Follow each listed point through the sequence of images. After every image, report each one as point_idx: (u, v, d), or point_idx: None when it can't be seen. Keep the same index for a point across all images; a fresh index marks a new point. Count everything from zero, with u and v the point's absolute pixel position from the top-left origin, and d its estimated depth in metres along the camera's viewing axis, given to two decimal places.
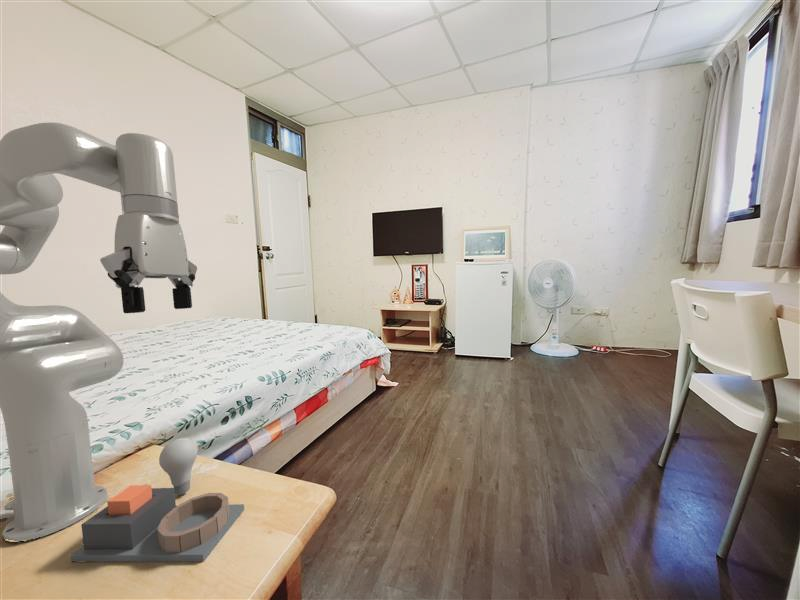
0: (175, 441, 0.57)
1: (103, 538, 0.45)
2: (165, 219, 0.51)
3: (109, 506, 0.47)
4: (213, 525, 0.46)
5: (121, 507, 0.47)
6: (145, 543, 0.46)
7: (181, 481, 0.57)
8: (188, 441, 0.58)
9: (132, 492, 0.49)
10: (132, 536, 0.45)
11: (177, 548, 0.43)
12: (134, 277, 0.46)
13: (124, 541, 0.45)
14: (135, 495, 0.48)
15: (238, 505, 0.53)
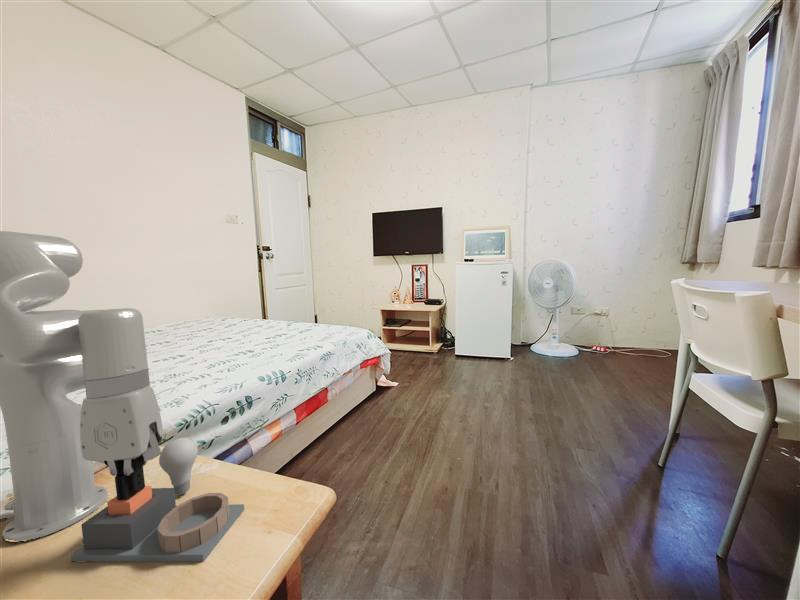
0: (175, 441, 0.57)
1: (103, 538, 0.45)
2: None
3: (109, 507, 0.47)
4: (213, 525, 0.46)
5: (121, 508, 0.47)
6: (145, 543, 0.46)
7: (181, 481, 0.57)
8: (188, 441, 0.58)
9: None
10: (132, 536, 0.45)
11: (177, 548, 0.43)
12: None
13: (124, 541, 0.45)
14: (135, 496, 0.48)
15: (238, 505, 0.53)
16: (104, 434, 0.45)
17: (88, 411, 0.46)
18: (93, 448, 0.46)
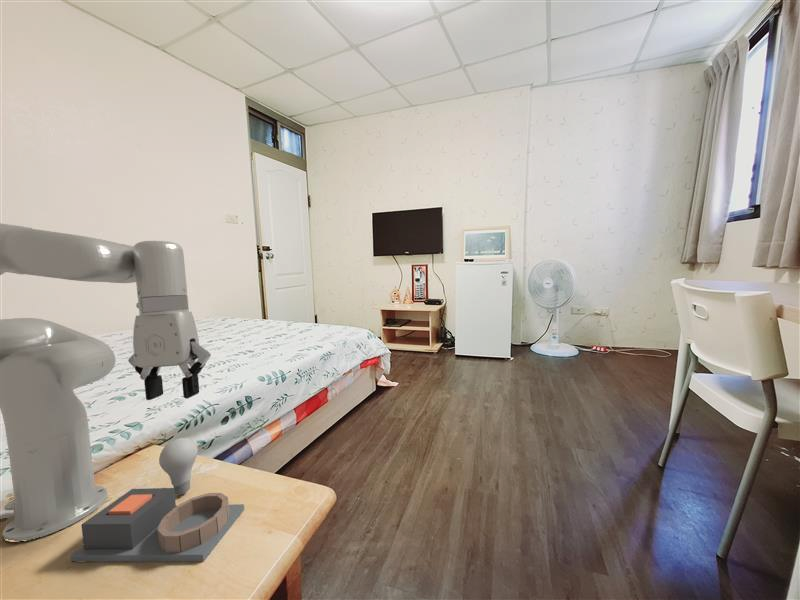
0: (175, 441, 0.57)
1: (103, 538, 0.45)
2: None
3: None
4: (213, 525, 0.46)
5: None
6: (145, 543, 0.46)
7: (181, 481, 0.57)
8: (188, 441, 0.58)
9: (133, 502, 0.49)
10: (132, 536, 0.45)
11: (177, 548, 0.43)
12: None
13: (124, 541, 0.45)
14: (136, 505, 0.48)
15: (238, 505, 0.53)
16: (154, 344, 0.54)
17: (140, 325, 0.55)
18: (144, 356, 0.55)
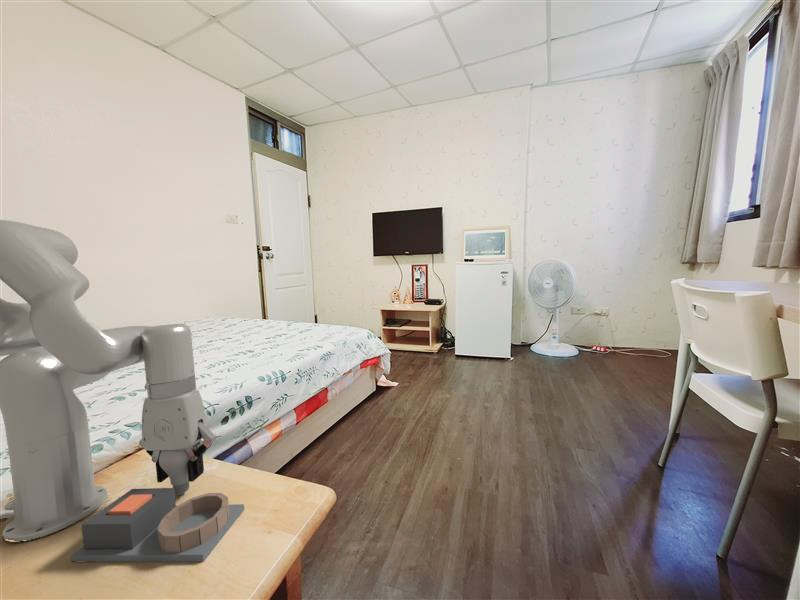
0: None
1: (103, 538, 0.45)
2: None
3: None
4: (213, 525, 0.46)
5: None
6: (145, 543, 0.46)
7: (180, 481, 0.57)
8: None
9: (133, 502, 0.49)
10: (132, 536, 0.45)
11: (177, 548, 0.43)
12: None
13: (124, 541, 0.45)
14: (136, 505, 0.48)
15: (238, 505, 0.53)
16: (162, 429, 0.55)
17: (149, 409, 0.55)
18: (152, 440, 0.55)
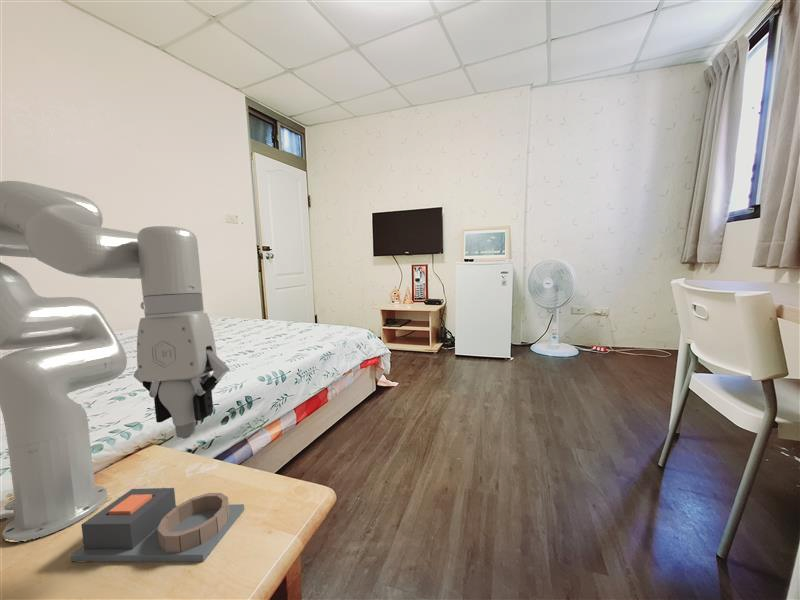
0: None
1: (103, 538, 0.45)
2: None
3: None
4: (213, 525, 0.46)
5: None
6: (145, 543, 0.46)
7: (185, 420, 0.46)
8: None
9: (133, 502, 0.49)
10: (132, 536, 0.45)
11: (177, 548, 0.43)
12: None
13: (124, 541, 0.45)
14: (136, 505, 0.48)
15: (238, 505, 0.53)
16: (162, 353, 0.44)
17: (146, 329, 0.45)
18: (150, 367, 0.45)
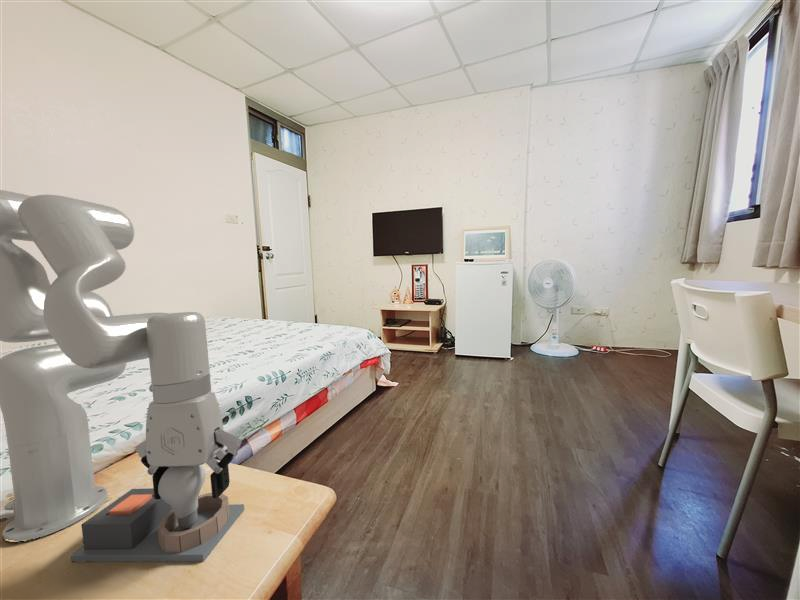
0: None
1: (103, 538, 0.45)
2: None
3: None
4: (213, 525, 0.46)
5: None
6: (145, 543, 0.46)
7: (186, 513, 0.47)
8: None
9: (133, 502, 0.49)
10: (132, 536, 0.45)
11: (177, 548, 0.43)
12: None
13: (124, 541, 0.45)
14: (136, 505, 0.48)
15: (238, 505, 0.53)
16: (171, 440, 0.45)
17: (154, 416, 0.45)
18: (159, 454, 0.45)
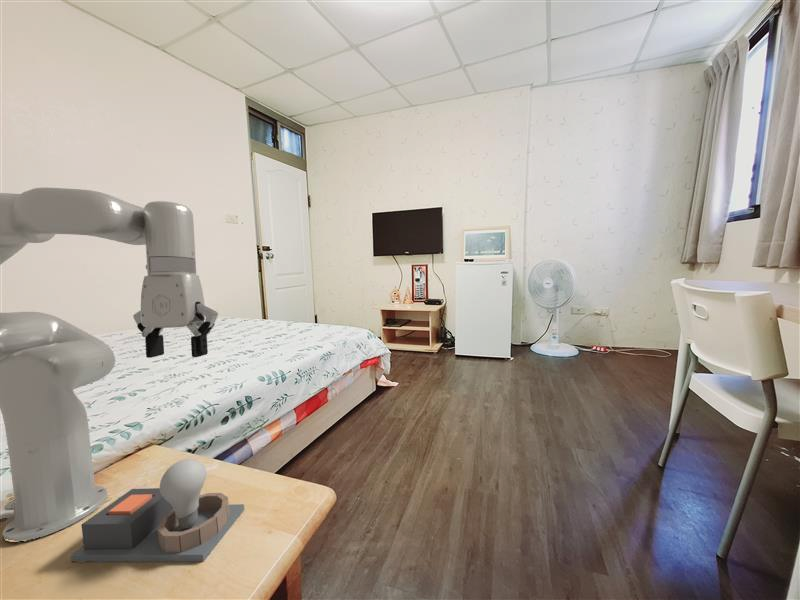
0: (179, 463, 0.47)
1: (103, 538, 0.45)
2: None
3: None
4: (213, 525, 0.46)
5: None
6: (145, 543, 0.46)
7: (187, 512, 0.47)
8: (194, 463, 0.48)
9: (133, 502, 0.49)
10: (132, 536, 0.45)
11: (177, 548, 0.43)
12: None
13: (124, 541, 0.45)
14: (136, 505, 0.48)
15: (238, 505, 0.53)
16: (160, 305, 0.55)
17: (148, 285, 0.55)
18: (150, 316, 0.55)
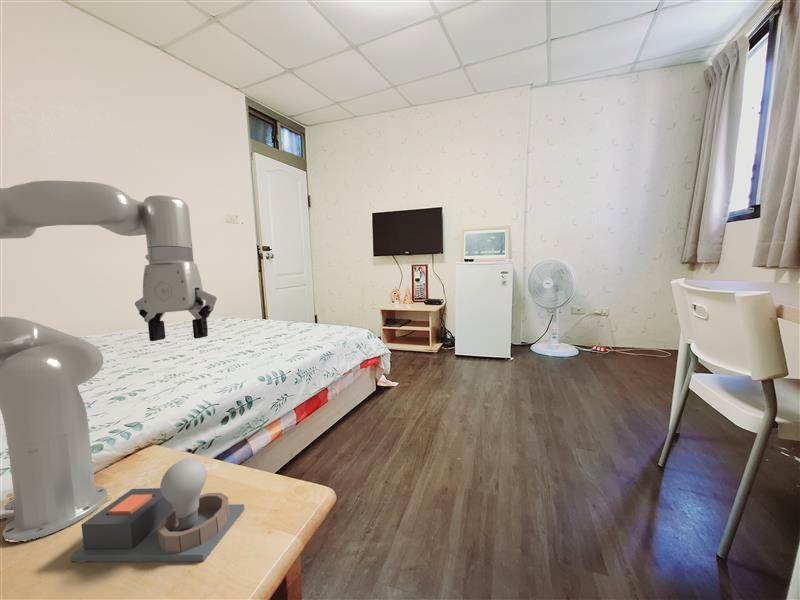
0: (180, 463, 0.47)
1: (103, 538, 0.45)
2: None
3: None
4: (213, 525, 0.46)
5: None
6: (145, 543, 0.46)
7: (187, 512, 0.47)
8: (195, 463, 0.48)
9: (133, 502, 0.49)
10: (132, 536, 0.45)
11: (177, 548, 0.43)
12: None
13: (124, 541, 0.45)
14: (136, 505, 0.48)
15: (238, 505, 0.53)
16: (162, 291, 0.59)
17: (149, 273, 0.59)
18: (153, 302, 0.59)
